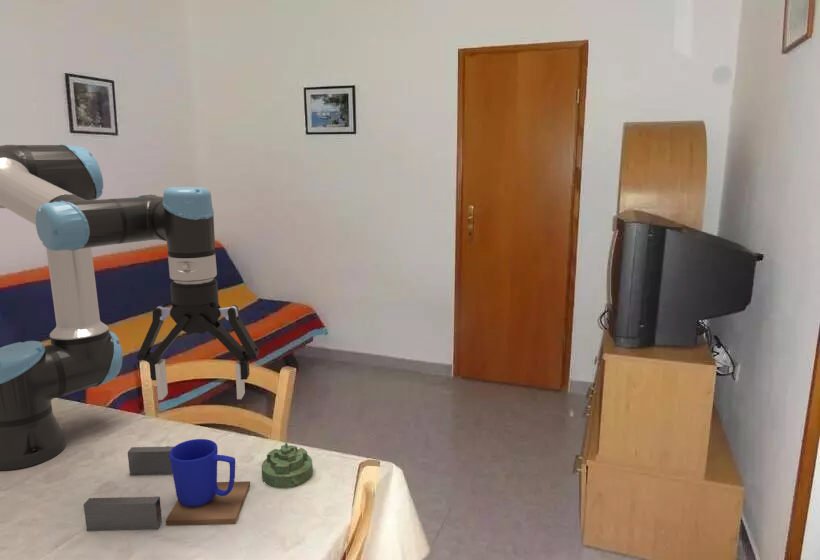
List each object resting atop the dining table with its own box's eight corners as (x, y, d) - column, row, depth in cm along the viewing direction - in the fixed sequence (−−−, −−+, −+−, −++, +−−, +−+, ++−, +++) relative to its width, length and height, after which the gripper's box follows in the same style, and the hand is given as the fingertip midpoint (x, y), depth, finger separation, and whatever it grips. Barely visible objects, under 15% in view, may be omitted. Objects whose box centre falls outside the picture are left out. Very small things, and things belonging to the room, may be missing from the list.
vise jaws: (139, 462, 125) (137, 440, 123) (197, 461, 125) (196, 439, 124) (86, 530, 102) (83, 504, 101) (157, 529, 103) (155, 503, 102)
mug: (225, 517, 104) (221, 466, 102) (164, 508, 107) (159, 457, 105) (247, 492, 112) (244, 443, 110) (190, 484, 115) (186, 436, 113)
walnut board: (187, 487, 115) (187, 482, 115) (250, 485, 116) (250, 481, 116) (165, 525, 104) (165, 520, 103) (235, 523, 104) (235, 518, 104)
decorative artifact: (254, 487, 116) (305, 490, 115) (253, 454, 114) (304, 457, 113) (271, 461, 126) (317, 463, 125) (270, 430, 124) (317, 433, 123)
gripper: (108, 284, 96) (121, 406, 101) (264, 284, 98) (269, 404, 102) (127, 274, 104) (138, 388, 108) (272, 274, 105) (276, 387, 110)
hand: (202, 396), depth 105 cm, fingers open, 13 cm apart
